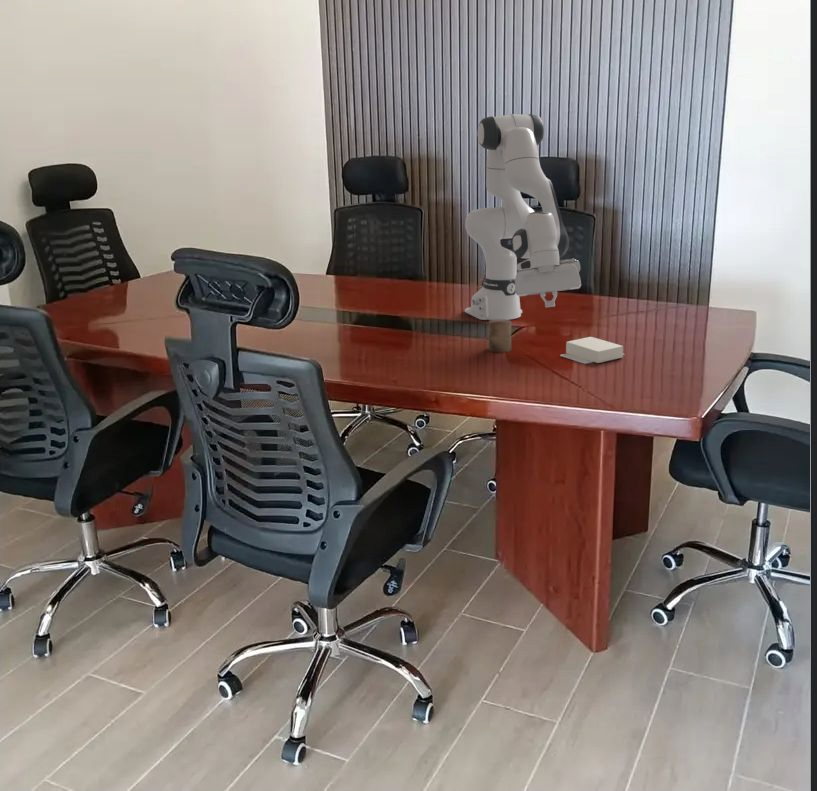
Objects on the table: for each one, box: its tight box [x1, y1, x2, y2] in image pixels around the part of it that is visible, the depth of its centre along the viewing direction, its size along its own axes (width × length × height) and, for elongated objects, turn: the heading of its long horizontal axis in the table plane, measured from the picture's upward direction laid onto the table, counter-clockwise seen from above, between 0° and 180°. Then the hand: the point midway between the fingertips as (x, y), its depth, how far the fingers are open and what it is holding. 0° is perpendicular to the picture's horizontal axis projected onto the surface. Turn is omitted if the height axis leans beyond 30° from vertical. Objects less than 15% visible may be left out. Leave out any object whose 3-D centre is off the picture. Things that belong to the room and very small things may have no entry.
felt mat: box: [559, 353, 625, 365], centre depth 268 cm, size 11×16×1 cm
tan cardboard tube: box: [488, 319, 512, 354], centre depth 276 cm, size 7×7×9 cm
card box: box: [565, 336, 624, 364], centre depth 267 cm, size 4×10×14 cm
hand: (550, 306), depth 273 cm, fingers closed
